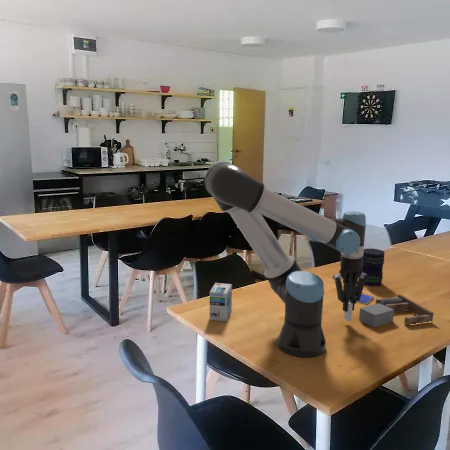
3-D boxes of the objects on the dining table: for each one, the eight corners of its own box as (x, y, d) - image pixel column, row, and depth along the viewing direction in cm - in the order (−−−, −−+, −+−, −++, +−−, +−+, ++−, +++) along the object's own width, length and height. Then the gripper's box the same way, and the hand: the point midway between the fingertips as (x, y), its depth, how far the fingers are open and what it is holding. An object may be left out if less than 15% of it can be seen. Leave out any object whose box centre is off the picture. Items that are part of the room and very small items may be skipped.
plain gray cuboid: (373, 328, 162) (375, 315, 161) (358, 320, 168) (360, 308, 167) (392, 322, 167) (394, 309, 166) (377, 315, 173) (378, 303, 172)
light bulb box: (226, 321, 165) (227, 293, 162) (208, 320, 166) (209, 292, 164) (231, 310, 175) (232, 283, 173) (214, 308, 176) (215, 282, 174)
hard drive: (373, 296, 189) (345, 289, 196) (366, 302, 183) (337, 294, 190) (373, 299, 189) (345, 293, 197) (366, 305, 183) (337, 298, 190)
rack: (405, 326, 163) (407, 315, 162) (375, 306, 181) (376, 296, 180) (432, 323, 166) (433, 312, 165) (399, 303, 184) (400, 294, 183)
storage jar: (381, 287, 202) (384, 255, 199) (358, 285, 205) (361, 253, 202) (381, 280, 211) (384, 249, 208) (359, 278, 215) (362, 247, 211)
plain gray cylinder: (385, 311, 176) (386, 301, 176) (379, 307, 180) (380, 298, 179) (403, 309, 178) (404, 300, 178) (397, 306, 182) (398, 296, 181)
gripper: (340, 260, 153) (336, 325, 159) (374, 257, 157) (369, 321, 162) (329, 254, 161) (326, 317, 166) (362, 251, 164) (358, 313, 169)
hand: (347, 319), depth 164 cm, fingers closed
